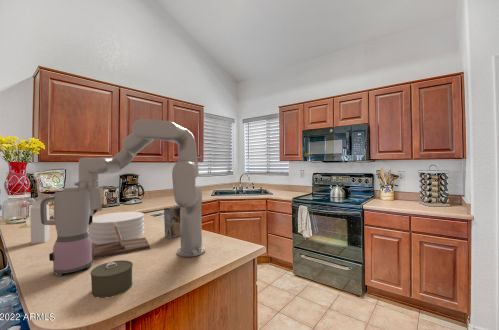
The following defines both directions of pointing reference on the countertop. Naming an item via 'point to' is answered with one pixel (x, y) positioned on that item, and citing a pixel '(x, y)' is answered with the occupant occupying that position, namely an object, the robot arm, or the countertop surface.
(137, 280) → the countertop surface
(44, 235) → the milk
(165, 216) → the coffee box
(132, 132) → the robot arm
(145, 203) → the countertop surface
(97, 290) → the can
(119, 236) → the tile
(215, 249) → the countertop surface
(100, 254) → the walnut board
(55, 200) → the blender
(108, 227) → the plate stack
